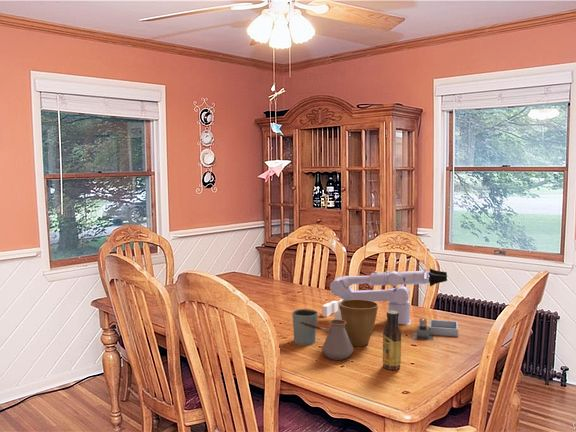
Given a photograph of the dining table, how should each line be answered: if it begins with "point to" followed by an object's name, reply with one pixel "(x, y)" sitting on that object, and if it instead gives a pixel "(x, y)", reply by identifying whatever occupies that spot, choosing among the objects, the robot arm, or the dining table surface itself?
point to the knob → (423, 329)
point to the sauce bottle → (392, 342)
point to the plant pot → (359, 320)
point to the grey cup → (304, 333)
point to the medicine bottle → (338, 313)
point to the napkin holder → (329, 308)
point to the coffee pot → (335, 340)
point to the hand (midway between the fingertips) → (446, 276)
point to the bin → (443, 327)
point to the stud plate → (422, 338)
